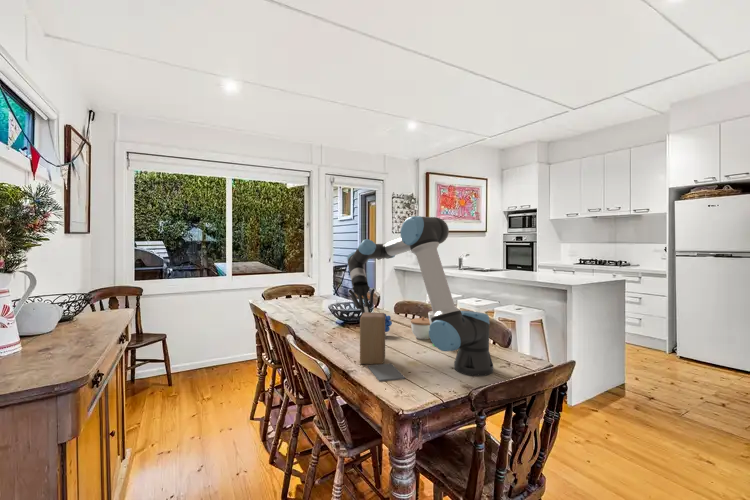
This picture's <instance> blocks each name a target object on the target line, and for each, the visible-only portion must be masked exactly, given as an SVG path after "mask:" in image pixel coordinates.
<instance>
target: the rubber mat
mask: <svg viewBox="0 0 750 500" xmlns="http://www.w3.org/2000/svg"><path fill="white" fill-rule="evenodd" d="M367 368H368V369H369V371H370V372H371V374H373V376H374V377H375V378H376V379H377V380H378V382H388V381H396V380H397V381H398V380H405V379H406V376H404V374H403V373H401V371H399V369H398V368H396V367H395V365H393V364H392V363H383V364H378V365H377V364H367Z"/></svg>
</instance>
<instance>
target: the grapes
mask: <svg viewBox="0 0 750 500" xmlns="http://www.w3.org/2000/svg"><path fill="white" fill-rule="evenodd" d="M392 324H393V321H391V316H390V315H387V314H386V313H385V333H388V332H390V329H391V326H392Z"/></svg>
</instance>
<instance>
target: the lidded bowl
mask: <svg viewBox="0 0 750 500" xmlns="http://www.w3.org/2000/svg"><path fill="white" fill-rule="evenodd" d="M410 325H411V326H410V328H411V333H412V334H413V335H414V336H415V338H416V339H417V340H428V339H430V337H429V329H430V328H429V327H430V321H429V317H428V318H427V317H425V316H421V317H415V318H413V319H411V320H410Z"/></svg>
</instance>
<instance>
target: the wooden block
mask: <svg viewBox="0 0 750 500" xmlns="http://www.w3.org/2000/svg"><path fill="white" fill-rule="evenodd" d="M385 314H386V313H384V312H372V311H370V312H364V313H363V314H362V313H361V316H360V318H359V362H360V364H361V365H378V364H385V358H386V332H385Z"/></svg>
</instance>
